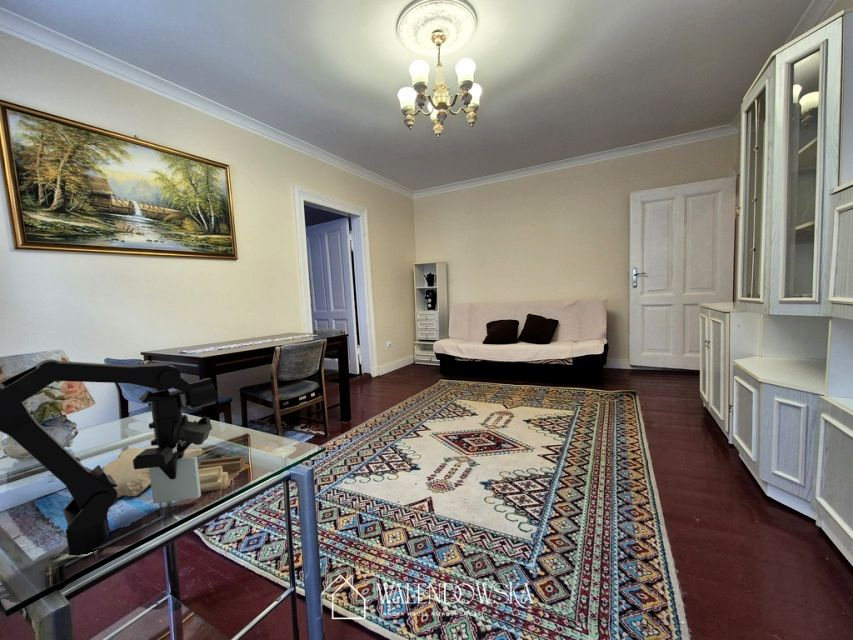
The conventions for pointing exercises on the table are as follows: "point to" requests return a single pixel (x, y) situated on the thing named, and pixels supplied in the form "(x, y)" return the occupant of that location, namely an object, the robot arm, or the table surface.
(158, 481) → the panel
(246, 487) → the table surface
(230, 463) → the rack
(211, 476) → the offcut upper
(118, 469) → the tan curved tapered piece
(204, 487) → the offcut lower
